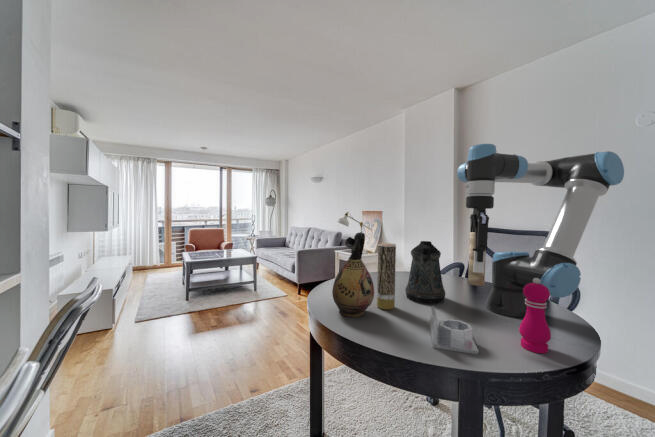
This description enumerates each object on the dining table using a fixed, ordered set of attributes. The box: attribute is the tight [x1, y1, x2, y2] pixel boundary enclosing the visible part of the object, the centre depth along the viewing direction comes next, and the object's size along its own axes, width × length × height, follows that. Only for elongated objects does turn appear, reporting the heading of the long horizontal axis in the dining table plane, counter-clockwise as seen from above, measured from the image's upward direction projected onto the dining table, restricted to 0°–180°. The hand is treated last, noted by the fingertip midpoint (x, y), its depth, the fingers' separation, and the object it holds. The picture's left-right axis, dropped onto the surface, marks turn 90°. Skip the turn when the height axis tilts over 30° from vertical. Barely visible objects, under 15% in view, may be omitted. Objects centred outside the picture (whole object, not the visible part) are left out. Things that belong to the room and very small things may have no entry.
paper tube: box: [376, 242, 397, 311], centre depth 110 cm, size 7×7×25 cm
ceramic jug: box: [331, 231, 375, 318], centre depth 105 cm, size 17×15×30 cm
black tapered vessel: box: [404, 240, 446, 305], centre depth 121 cm, size 16×19×25 cm
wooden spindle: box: [467, 231, 487, 287], centre depth 87 cm, size 4×4×16 cm
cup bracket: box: [429, 305, 480, 355], centre depth 83 cm, size 12×12×8 cm
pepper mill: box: [518, 278, 552, 354], centre depth 79 cm, size 7×7×20 cm
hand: (476, 270), depth 87 cm, fingers closed on wooden spindle, 4 cm apart
